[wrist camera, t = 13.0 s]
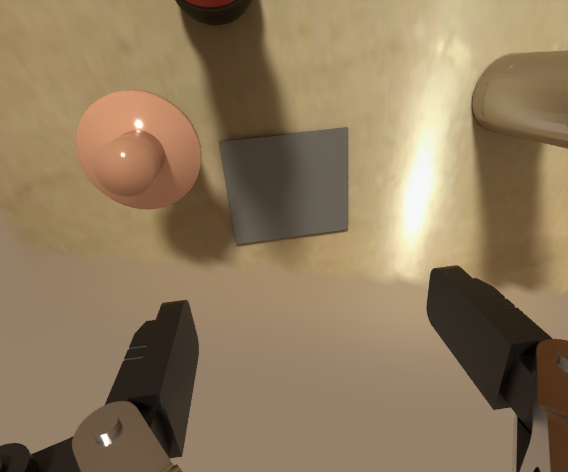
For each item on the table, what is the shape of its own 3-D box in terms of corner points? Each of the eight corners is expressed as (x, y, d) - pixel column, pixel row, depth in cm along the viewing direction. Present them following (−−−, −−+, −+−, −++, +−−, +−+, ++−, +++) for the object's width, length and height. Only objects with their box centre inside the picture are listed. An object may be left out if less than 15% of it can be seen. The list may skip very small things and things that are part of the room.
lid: (188, 83, 28) (177, 87, 23) (211, 198, 33) (207, 223, 27) (61, 97, 27) (20, 104, 22) (102, 213, 32) (76, 241, 27)
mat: (346, 127, 43) (348, 128, 43) (346, 227, 50) (348, 229, 49) (219, 141, 42) (219, 142, 42) (236, 242, 48) (236, 244, 48)
